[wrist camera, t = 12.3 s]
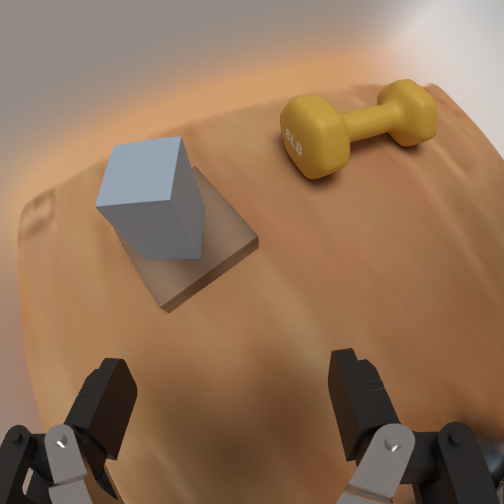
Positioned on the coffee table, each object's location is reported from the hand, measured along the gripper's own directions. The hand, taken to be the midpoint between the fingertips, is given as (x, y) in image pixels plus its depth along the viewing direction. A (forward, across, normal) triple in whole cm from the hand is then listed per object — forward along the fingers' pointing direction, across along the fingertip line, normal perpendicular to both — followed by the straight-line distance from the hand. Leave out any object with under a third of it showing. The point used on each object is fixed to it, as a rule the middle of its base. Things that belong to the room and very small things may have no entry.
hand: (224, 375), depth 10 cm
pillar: (+16, +6, -1) cm, 17 cm away
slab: (+18, +5, +1) cm, 19 cm away
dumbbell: (+26, -15, -6) cm, 31 cm away
